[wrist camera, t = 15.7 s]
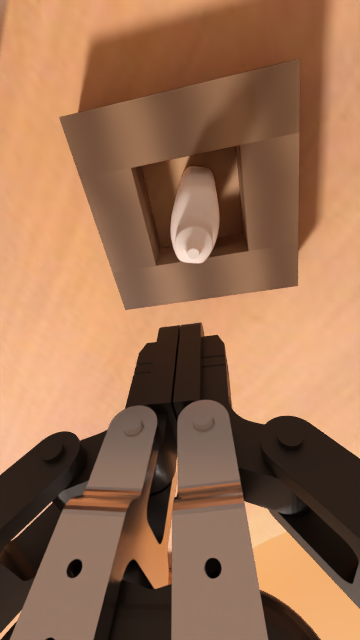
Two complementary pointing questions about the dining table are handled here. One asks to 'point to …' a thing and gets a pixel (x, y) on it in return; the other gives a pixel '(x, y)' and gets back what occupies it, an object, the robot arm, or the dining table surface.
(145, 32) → the dining table surface
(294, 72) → the socket block
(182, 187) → the eye dropper bottle
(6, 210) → the dining table surface
